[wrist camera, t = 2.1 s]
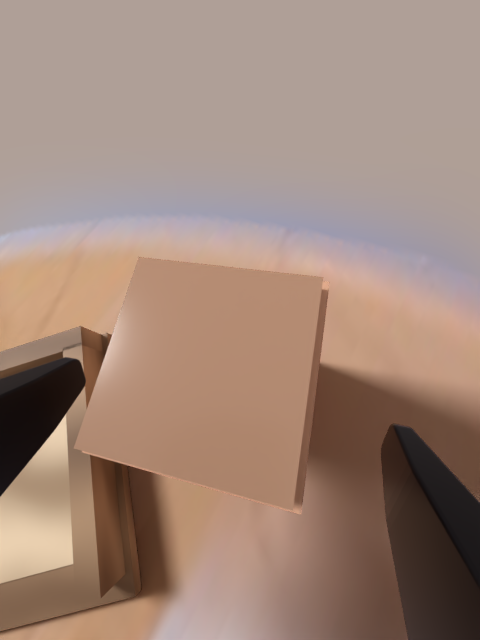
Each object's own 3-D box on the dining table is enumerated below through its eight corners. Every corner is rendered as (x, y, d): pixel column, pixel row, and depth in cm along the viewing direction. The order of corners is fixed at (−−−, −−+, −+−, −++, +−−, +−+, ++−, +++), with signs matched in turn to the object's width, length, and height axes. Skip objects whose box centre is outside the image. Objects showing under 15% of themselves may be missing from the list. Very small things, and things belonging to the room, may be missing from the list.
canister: (291, 448, 15) (302, 526, 5) (204, 427, 16) (62, 456, 6) (303, 358, 17) (333, 270, 6) (223, 344, 18) (134, 249, 7)
